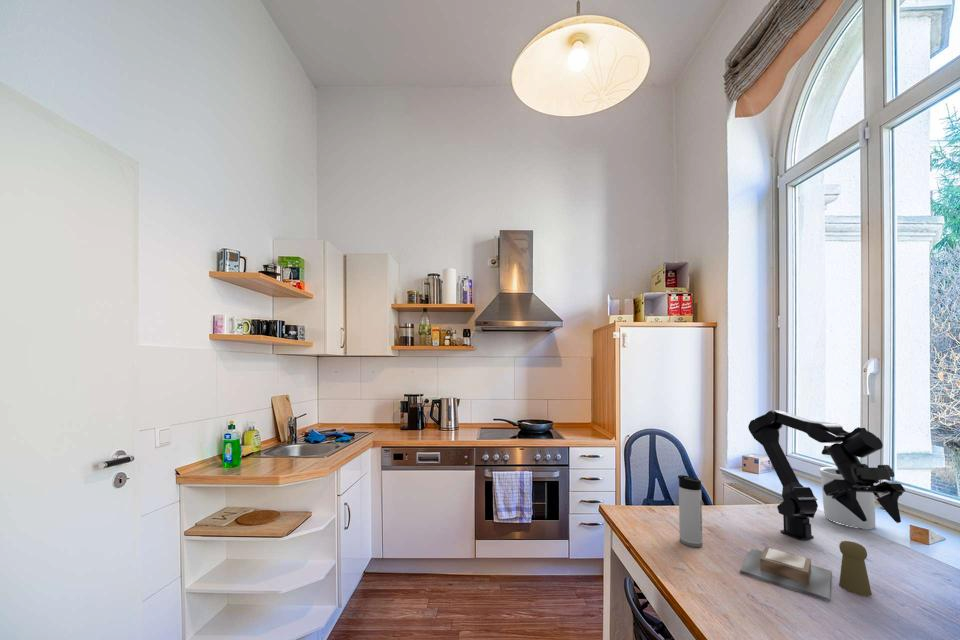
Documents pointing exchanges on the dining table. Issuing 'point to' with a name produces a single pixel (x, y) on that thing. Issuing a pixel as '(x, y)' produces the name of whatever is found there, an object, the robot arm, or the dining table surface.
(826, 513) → the utensil holder
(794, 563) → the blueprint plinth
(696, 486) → the travel mug
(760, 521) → the dining table surface
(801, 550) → the dining table surface
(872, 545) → the dining table surface
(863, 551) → the cork
